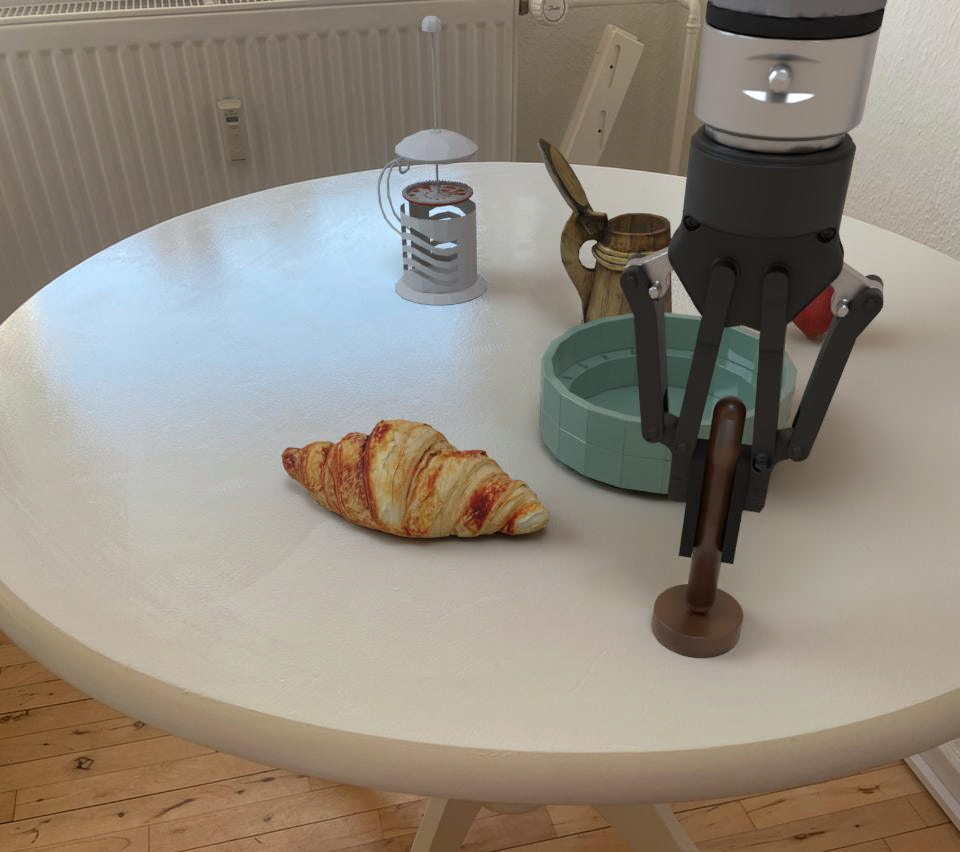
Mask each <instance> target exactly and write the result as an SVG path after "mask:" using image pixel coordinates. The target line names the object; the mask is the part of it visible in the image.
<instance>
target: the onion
mask: <svg viewBox="0 0 960 852" xmlns="http://www.w3.org/2000/svg"><path fill="white" fill-rule="evenodd" d="M833 293H834V289H833V287H832V286H831V285H830V286H828V287H827V288H826V289H825V290H824V291H823V292H822V293H821V294H820V295H819V296H818V297H817V298H816V299H815V300H814V301H813V302H812V303H811V304H810V305H809V306H808V307H806V308H805V309H804V310H803V311H802V312H801V313H800V314H799V315H798V316H797V317H796V318H795V319H794V320H793V321H792V322H791V323H793V324H794V325H795V326H796V327H797V328H798V329H799V330H800V331H801V332H802V334H803V335H804V336H805V337H806V338H807V339H814V338H817V337H818V336H821V335H824V334H825V333H827V331H828V328H829V326H830V323H831V321H832V318H833V316H834V314H833V313H832V311H831V299H832V295H833Z"/></svg>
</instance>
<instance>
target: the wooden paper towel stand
mask: <svg viewBox="0 0 960 852" xmlns="http://www.w3.org/2000/svg"><path fill="white" fill-rule="evenodd" d="M746 413H747V409H746V406H745V403H744V402H743V401H742V400H741V399H740V398H739V397H736V396H732V395H730V396H725V397H723V398H721V399H720V400H718V402H717V403H716V404H715V406H714V409H713V416H712V422H711V429H710V436H709V443H708V450H707V460H706V466H705V473H704V480H703V487H702V493H701V500H700V507H699V514H698V520H697V527H696V534H695V541H694V548H693V552H692V556H691V558H690V565H689V571H688V573H689V574H688V579H687V583H683V584H678V585H674V586H671V587H668V588H666V589H665V590H664V591H662V592H661V593H660V594H659V595H658V596H657V597H656V599H655V601H654V603H653V609H652V610H653V612H652V618H651V619H652V620H651V630H652V633H653V635H654V637H655V638H656V640H657V641H658V642H659V643H660V644H661V645H662V646H663V647H665V648H666V649H668V650H670V651H671V652H673V653H676V654H679V655H682V656H686V657H692V658H711V657H717V656H720V655H723V654H726V653H727V652H729V651H730V650H732V649H733V648H734V647H735V646H736V645H737V643H738V642H739V640H740V636H741V631H742V626H743V621H744V611H743V608H742V606H741V604H740V603H739V601H738V600H737V599H736V598H735V597H734V596H732V595H731V594H730V593H729V592H727V591H725V590H723V589H720V588H719V587H718V585H719V579H720V573H721V568H722V563H721V556H722V550H723V544H724V538H725V532H726V526H727V520H728V514H729V508H730V502H731V496H732V490H733V485H734V479H735V473H736V467H737V462H738V457H739V455H740V449H741V443H742V437H743V432H744V426H745V420H746Z"/></svg>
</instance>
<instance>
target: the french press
mask: <svg viewBox="0 0 960 852" xmlns="http://www.w3.org/2000/svg"><path fill="white" fill-rule="evenodd" d="M442 24H443V23H442V21H441V19H439V17H438V16H437V15H426V16H425V17H424V18H423V19H422V22H421V31H422V32H425V33H430V40H431V41H430V42H431V43H430V44H431V63H432V64H431V70H432V92H433V93H432V96H433V97H432V98H433V99H432V100H433V123H434V126H433V127H434V128H431V129H422V130H420V131H418V132H415V133H412V134H411V135H408V136H406V137H404V138H403V139H401V141H400V142H399V143H398V144H396V145H395V146H394V153H395V154H396V155H397V156H398V158H394V159H392V160H391V161H390V162H388V163H387V164H386V165H385V166H384V167H383V168H381V171H380V174H379V176H378V180H377V186H376V189H377V197H378V198H377V199H378V205H379V208H380V211H381V214H382V216H383V219H384V220H385V222H386V223H387V224H388V226H389V227H390V228H391V229H392V230H394V231H395V232H396V233H397V235H399V236H400V237H401V249H402V263H403V264H402V266H403V268H402V269H403V275H402V277H400V279H398V281H397V282H396V283H394V288H395V289H394V290H395V293H396V294H397V295H398V296H400V298H402V299H404V300H407V301H410V302H413V303H416V304H422V305H429V306H443V305H445V306H446V305H447V306H448V305H455V304H461V303H465V302H470V301H471V300H474V299H476V298H478V297H480V296H482V295H483V294H484V292H485V291H486V290H487V289H488V285H487V281H486V280H485V278H483V277H482V276H481V275H480V274H478V245H477V244H478V242H477V239H478V238H477V237H478V235H477V232H478V231H477V205H476V202H475V201H473V200H471V198H472V197H473V195H474V189H473V188H472V186H470V185H468V183H464V182H461V181H456V180H454V181H453V180H449V179H448V180H447V179H441V180H440V179H439V166H441V165H442V166H443V165H446V166H447V165H452V164H458V163H462V162H465V161H468V160H471V159H472V158H473V157H475V156H476V154H477V152H478V151H479V149H478V144H476V143H475V142H474V141H472V140H471V139H469V138H468V137H467V136H464V135H462V134H460V133H458V132H456V131H453V130H448V129H443V128H438V127H437V125H438V124H437V99H436V95H437V94H436V72H435V71H436V69H435V43H434V42H435V41H434V40H435V39H434V33H436V32H442V31H443V26H442ZM401 160H404V161H406V162H407V163H406V165H407V166H406V169H405V170H402V163H401V162H400V161H401ZM411 163H413V164H422V165H435V180H434V179H432V180H431V179H429V180H427V179H426V180H422V181H421V180H420V181H417V182H414V183H410V184H408V185H406V186H405V188H403V190H402V191H401V192H402V193H401V195H402V198H403V199H404V200H405V201H407V202H408V213H409V214H406V207H405V206H406V205H405V203H406V202H403V203H402V204H401V205H400V206H399V214H400V215H398V214H397V213H396V210H395V208H394V206H393V203H392V202H393V201H392V199H391V195H390V193H391V192H390V178H391V173H392V172H393V168H394V167H395V166H396V164H397V167H398V172H399V174H400V175H404V174H406V173H407V172H408V171H409V170H410V169H411ZM388 167H390V168H389V170H388V173H387V176H386V192H387V193H386V196H387V201H388V203H389V207H390V208H391V212H392V214H393V216H394V217H395V219H396V220H397V221H398V222H399V224H400V230H398V228H397V227H395V226H394V225H393V224H392V222H390V220H389V219H388V218H387V216H386V215H387V214H386V213H385V211H384V208H383V203H382V197H381V184H382V183H381V182H382V179H383V176H384V173H385V171H386V170H387V169H388ZM449 206H451V207H454V208H457V209H459V210H460V211H461V212H462V213H463V214H464V215H461V214H459V213H456V212H453V211H450V210H447V211H442V212H438V213H435V214H433V215H430V211H432V210H435V209H436V208H442V207H449ZM399 216H400V217H399ZM407 230H408V231H409V232H407ZM408 241H410V245H408ZM449 243H451V244H454V245H455V246H452V247H446V248H442V247H436V246H438V245H443V244H449ZM408 253H409V254H410V255H411V258H410V257H409V255H408ZM409 266H411V269H409Z"/></svg>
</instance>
